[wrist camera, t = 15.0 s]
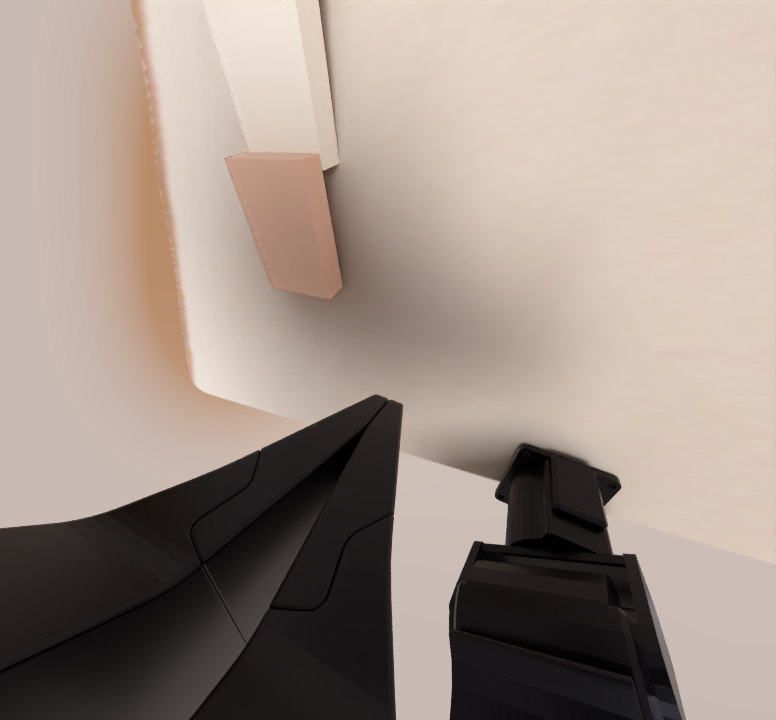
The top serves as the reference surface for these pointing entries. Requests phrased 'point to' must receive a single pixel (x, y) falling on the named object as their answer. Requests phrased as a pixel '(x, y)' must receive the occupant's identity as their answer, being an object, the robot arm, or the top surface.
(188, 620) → the robot arm
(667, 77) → the top surface
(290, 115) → the domino
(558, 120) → the top surface
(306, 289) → the domino
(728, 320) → the top surface
